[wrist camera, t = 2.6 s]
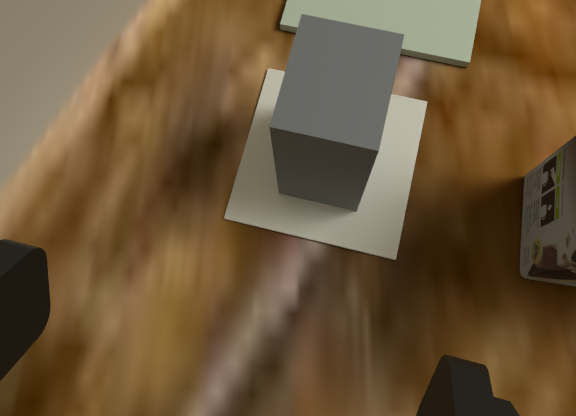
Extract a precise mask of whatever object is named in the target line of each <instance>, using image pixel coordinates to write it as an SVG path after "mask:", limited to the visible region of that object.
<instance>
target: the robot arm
mask: <svg viewBox="0 0 576 416" xmlns="http://www.w3.org/2000/svg"><path fill="white" fill-rule="evenodd" d="M49 314H50V294H49V281H48V268H47V257H46V253H45V251H44V250H43V249H41V248H38V247H35V246H31V245H27V244H23V243H19V242H15V241H12V240H8V239H3V240H0V381H1V380H2V378H3V377H4V376H5V375H6V374H7V373H8V372H9V370H10V369H11V368H12V367H13V366H14V365H15V364H16V363H17V361H18V360H19V359H20V358H21V357H22V356H23V355H24V353H25V352H26V351H27V350H28V349H29V348H30V347H31V345H32V344H33V343H34V342H35V341H36V340H37V339H38V337H39V336H40V335H41V333H42V332H43V330H44V328H45V326H46V324H47V321H48V318H49ZM416 416H519V414H518V413H517V411H516V409H515V408H514V406H513V405H512V403H511V402H510V401H507V400H503V399H500V398H496V397H493V392H492V387H491V382H490V377H489V373H488V369H487V367H486V366H485V365H483V364H479V363H475V362H472V361H468V360H464V359H460V358H456V357H452V356H449V355H443V356H442V357H441V359H440V361H439V363H438V365H437V367H436V370H435V372H434V374H433V376H432V379H431V381H430V383H429V386H428V388H427V390H426V392H425V395H424V397H423V399H422V401H421V404H420V406H419V409H418V412H417V415H416Z"/></svg>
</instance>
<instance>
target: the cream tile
mask: <svg viewBox="0 0 576 416" xmlns="http://www.w3.org/2000/svg"><path fill="white" fill-rule="evenodd" d="M284 74H285V72H284V71H279V70H275V69H270V68H268V71H267V74H266V78H265V81H264V84H263V88H262V91H261V94H260V98H259V101H258V105H257V108H256V111H255V115H254V118H253V121H252V125H251V128H250V132H249V135H248V138H247V142H246V145H245V148H244V152H243V155H242V159H241V162H240V165H239V169H238V172H237V175H236V179H235V182H234V185H233V189H232V192H231V196H230V199H229V202H228V206H227V209H226V212H225V216H224V219H226V220H230V221H234V222H238V223H242V224H247V225H251V226H255V227H259V228H263V229H267V230H271V231H276V232H280V233H284V234H288V235H292V236H296V237H301V238H305V239H309V240H313V241H317V242H321V243H325V244H330V245H334V246H338V247H342V248H346V249H350V250H355V251H359V252H363V253H367V254H371V255H375V256H379V257H384V258H388V259H392V260H396V257H397V252H398V247H399V242H400V237H401V232H402V227H403V222H404V217H405V212H406V207H407V202H408V197H409V191H410V186H411V181H412V176H413V171H414V166H415V161H416V156H417V151H418V146H419V141H420V136H421V131H422V126H423V121H424V116H425V111H426V106H427V102H426V101H422V100H417V99H412V98H407V97H403V96H398V95H393V94H391V98H390V102H389V107H388V111H387V116H386V121H385V125H384V130H383V134H382V139H381V143H380V148H379V152H378V154H377V157H376V160H375V163H374V165H373V168H372V171H371V174H370V176H369V179H368V182H367V185H366V187H365V190H364V193H363V196H362V198H361V201H360V204H359V206H358V209H357V211H352V210H348V209H344V208H340V207H335V206H331V205H327V204H323V203H318V202H314V201H310V200H305V199H301V198H297V197H293V196H288V195H284V194H280V193H279V191H278V184H277V177H276V170H275V163H274V156H273V149H272V142H271V135H270V128H269V126H270V123H271V119H272V116H273V112H274V109H275V105H276V102H277V98H278V95H279V91H280V88H281V84H282V81H283V77H284Z"/></svg>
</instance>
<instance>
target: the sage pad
mask: <svg viewBox="0 0 576 416" xmlns="http://www.w3.org/2000/svg"><path fill="white" fill-rule="evenodd" d="M480 3H481V0H287V2H286V6H285V9H284V12H283V16H282V19H281V22H280V30H284V31H289V32H294V33H296V32H297V28H298V25H299V21H300V18H301V14H305V15H310V16H315V17H320V18H325V19H330V20H335V21H340V22H345V23H350V24H355V25H360V26H365V27H370V28H375V29H380V30H385V31H390V32H395V33H400V34H404V39H403V43H402V48H401V53H400V54H402V55H407V56H412V57H417V58H422V59H427V60H432V61H437V62H442V63H447V64H452V65H457V66H462V67H466V68H467V67H468V65H469V63H470V59H471V54H472V48H473V42H474V37H475V31H476V26H477V20H478V14H479V9H480Z"/></svg>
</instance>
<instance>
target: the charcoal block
mask: <svg viewBox="0 0 576 416" xmlns="http://www.w3.org/2000/svg"><path fill="white" fill-rule="evenodd" d="M403 39H404V34H400V33H395V32H390V31H385V30H380V29H375V28H370V27H365V26H360V25H355V24H350V23H345V22H340V21H335V20H330V19H325V18H320V17H315V16H310V15H305V14H301V18H300V21H299V25H298V28H297V32H296V35H295V39H294V42H293V46H292V49H291V53H290V56H289V60H288V63H287V67H286V70H285V74H284V77H283V81H282V84H281V88H280V91H279V95H278V98H277V102H276V105H275V109H274V112H273V116H272V119H271V123H270V126H269V128H270V135H271V142H272V149H273V156H274V163H275V170H276V177H277V184H278V191H279V193H280V194H284V195H288V196H293V197H297V198H301V199H305V200H310V201H314V202H318V203H323V204H327V205H331V206H335V207H340V208H344V209H348V210H352V211H357V209H358V206H359V204H360V201H361V198H362V196H363V193H364V190H365V187H366V185H367V182H368V179H369V176H370V174H371V171H372V168H373V165H374V163H375V160H376V157H377V154H378V152H379V148H380V143H381V139H382V134H383V130H384V125H385V121H386V116H387V111H388V107H389V102H390V98H391V93H392V89H393V84H394V80H395V75H396V71H397V66H398V62H399V57H400V53H401V48H402V43H403Z"/></svg>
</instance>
